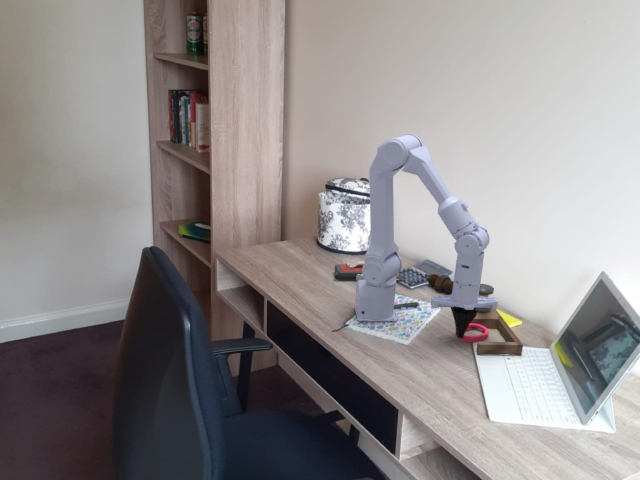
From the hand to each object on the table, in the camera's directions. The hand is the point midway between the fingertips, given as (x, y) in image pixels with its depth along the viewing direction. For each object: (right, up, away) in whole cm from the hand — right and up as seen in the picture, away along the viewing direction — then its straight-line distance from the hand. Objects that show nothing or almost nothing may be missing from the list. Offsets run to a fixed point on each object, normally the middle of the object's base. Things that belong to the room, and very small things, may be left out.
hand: (459, 335), depth 135 cm
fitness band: (+3, 0, +3) cm, 4 cm away
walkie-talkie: (-18, +11, +33) cm, 39 cm away
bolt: (+3, +7, +24) cm, 25 cm away
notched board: (+7, 0, +4) cm, 8 cm away
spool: (+8, +5, +10) cm, 14 cm away
